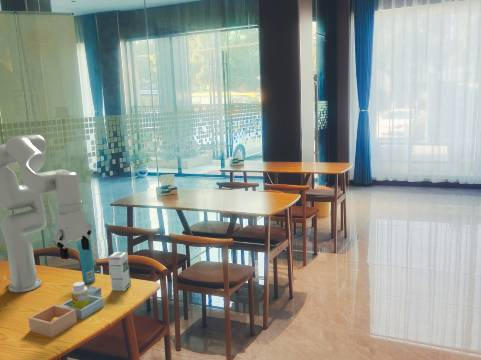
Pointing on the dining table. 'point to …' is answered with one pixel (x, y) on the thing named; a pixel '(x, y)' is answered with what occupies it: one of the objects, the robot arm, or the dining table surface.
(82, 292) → the supplement bottle
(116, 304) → the dining table surface
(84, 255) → the tube
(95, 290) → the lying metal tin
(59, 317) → the salmon pink open box
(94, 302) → the light blue open box
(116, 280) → the syrup box
